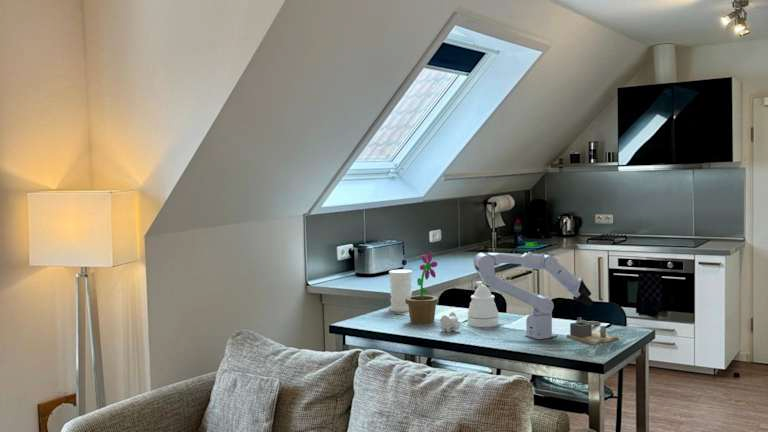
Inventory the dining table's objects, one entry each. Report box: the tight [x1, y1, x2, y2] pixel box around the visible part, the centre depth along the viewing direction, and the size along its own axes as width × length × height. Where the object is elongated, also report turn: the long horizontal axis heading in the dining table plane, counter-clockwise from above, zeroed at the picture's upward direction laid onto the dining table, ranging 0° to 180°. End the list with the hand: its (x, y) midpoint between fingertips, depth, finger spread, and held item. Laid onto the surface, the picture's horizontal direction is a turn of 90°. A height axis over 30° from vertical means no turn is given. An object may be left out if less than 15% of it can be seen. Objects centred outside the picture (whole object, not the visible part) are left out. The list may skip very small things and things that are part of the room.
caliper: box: [575, 316, 601, 326], centre depth 298 cm, size 21×1×6 cm, turn 140°
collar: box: [569, 321, 593, 338], centre depth 282 cm, size 6×6×4 cm
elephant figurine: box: [439, 311, 463, 333], centre depth 299 cm, size 8×10×7 cm
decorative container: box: [388, 269, 413, 313], centre depth 346 cm, size 12×12×18 cm
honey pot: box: [467, 281, 499, 328], centre depth 311 cm, size 13×13×18 cm
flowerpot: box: [405, 251, 440, 325], centre depth 318 cm, size 14×14×30 cm
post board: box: [566, 325, 620, 345], centre depth 281 cm, size 14×13×5 cm
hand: (590, 299), depth 288 cm, fingers open, 7 cm apart
